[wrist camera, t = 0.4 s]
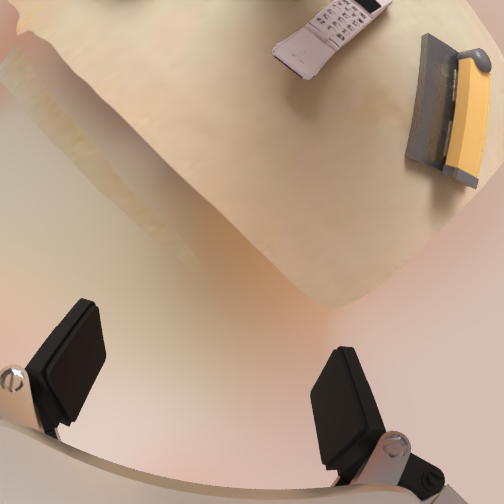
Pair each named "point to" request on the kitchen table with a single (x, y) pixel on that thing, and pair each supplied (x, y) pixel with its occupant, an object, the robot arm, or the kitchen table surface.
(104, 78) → the kitchen table surface
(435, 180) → the kitchen table surface
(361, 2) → the mobile phone
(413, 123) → the plate
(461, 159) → the bar
